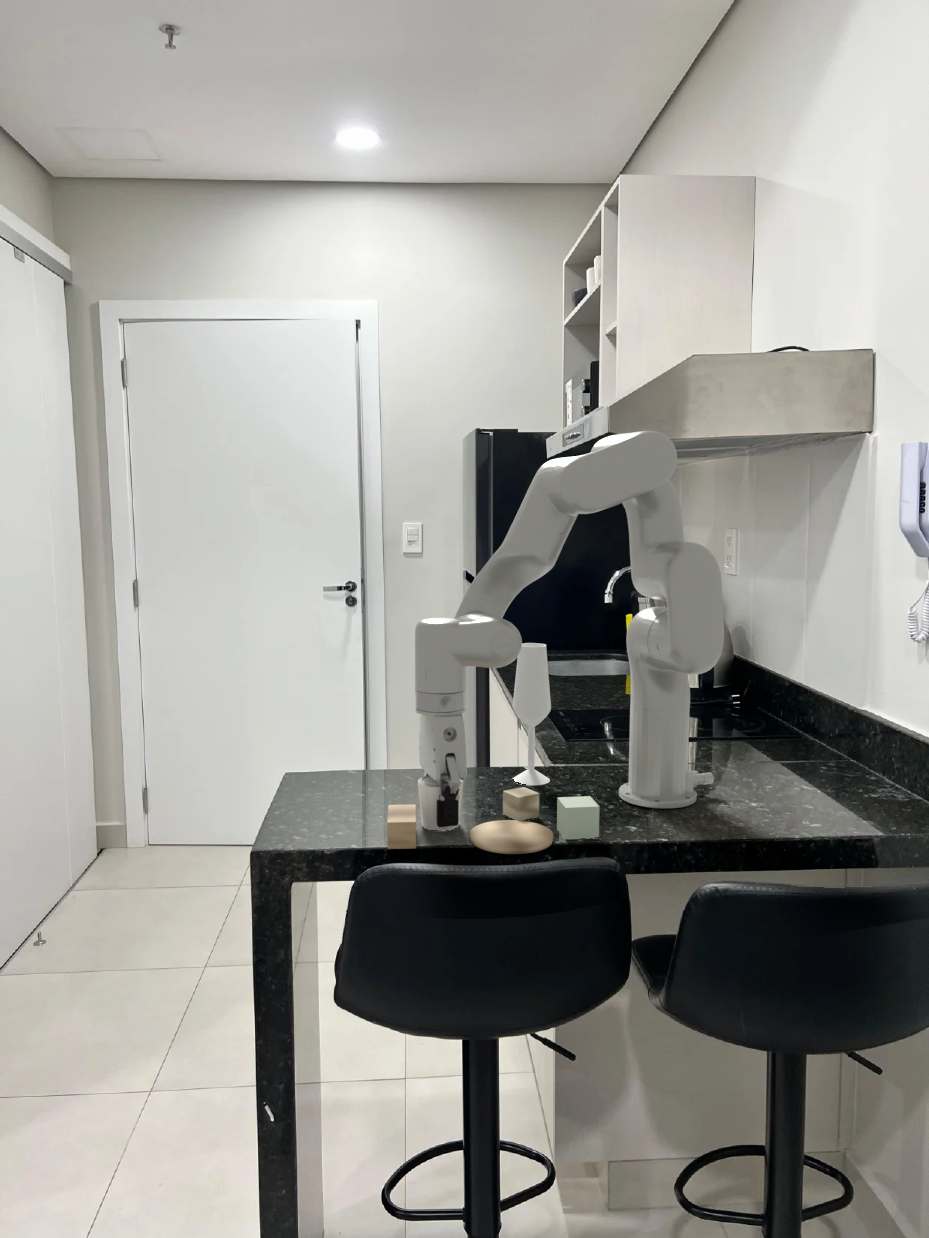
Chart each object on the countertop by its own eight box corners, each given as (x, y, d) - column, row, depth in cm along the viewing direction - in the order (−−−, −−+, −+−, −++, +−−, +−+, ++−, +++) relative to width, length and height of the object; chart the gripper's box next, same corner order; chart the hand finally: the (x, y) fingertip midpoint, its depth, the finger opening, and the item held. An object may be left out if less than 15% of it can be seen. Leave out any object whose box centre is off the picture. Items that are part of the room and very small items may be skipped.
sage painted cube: (589, 828, 141) (590, 796, 140) (598, 840, 136) (599, 806, 135) (556, 830, 140) (557, 797, 140) (565, 841, 135) (565, 807, 135)
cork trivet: (534, 821, 143) (534, 816, 143) (566, 848, 132) (566, 843, 132) (459, 829, 140) (459, 824, 140) (485, 858, 128) (485, 852, 128)
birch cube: (523, 811, 149) (523, 786, 148) (538, 818, 145) (539, 793, 145) (502, 815, 146) (502, 791, 146) (518, 823, 143) (518, 797, 143)
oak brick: (388, 830, 140) (388, 804, 139) (415, 830, 140) (415, 804, 140) (387, 850, 132) (387, 822, 131) (416, 849, 132) (416, 822, 132)
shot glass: (472, 824, 142) (472, 779, 141) (441, 836, 137) (441, 789, 136) (439, 814, 147) (439, 770, 146) (408, 825, 142) (408, 780, 141)
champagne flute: (543, 773, 170) (545, 641, 167) (555, 784, 163) (557, 647, 160) (507, 775, 168) (508, 642, 165) (517, 786, 162) (519, 648, 159)
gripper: (483, 711, 133) (482, 834, 135) (447, 689, 149) (447, 799, 151) (432, 715, 130) (432, 839, 132) (401, 692, 147) (402, 803, 149)
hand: (440, 817), depth 142 cm, fingers open, 6 cm apart
